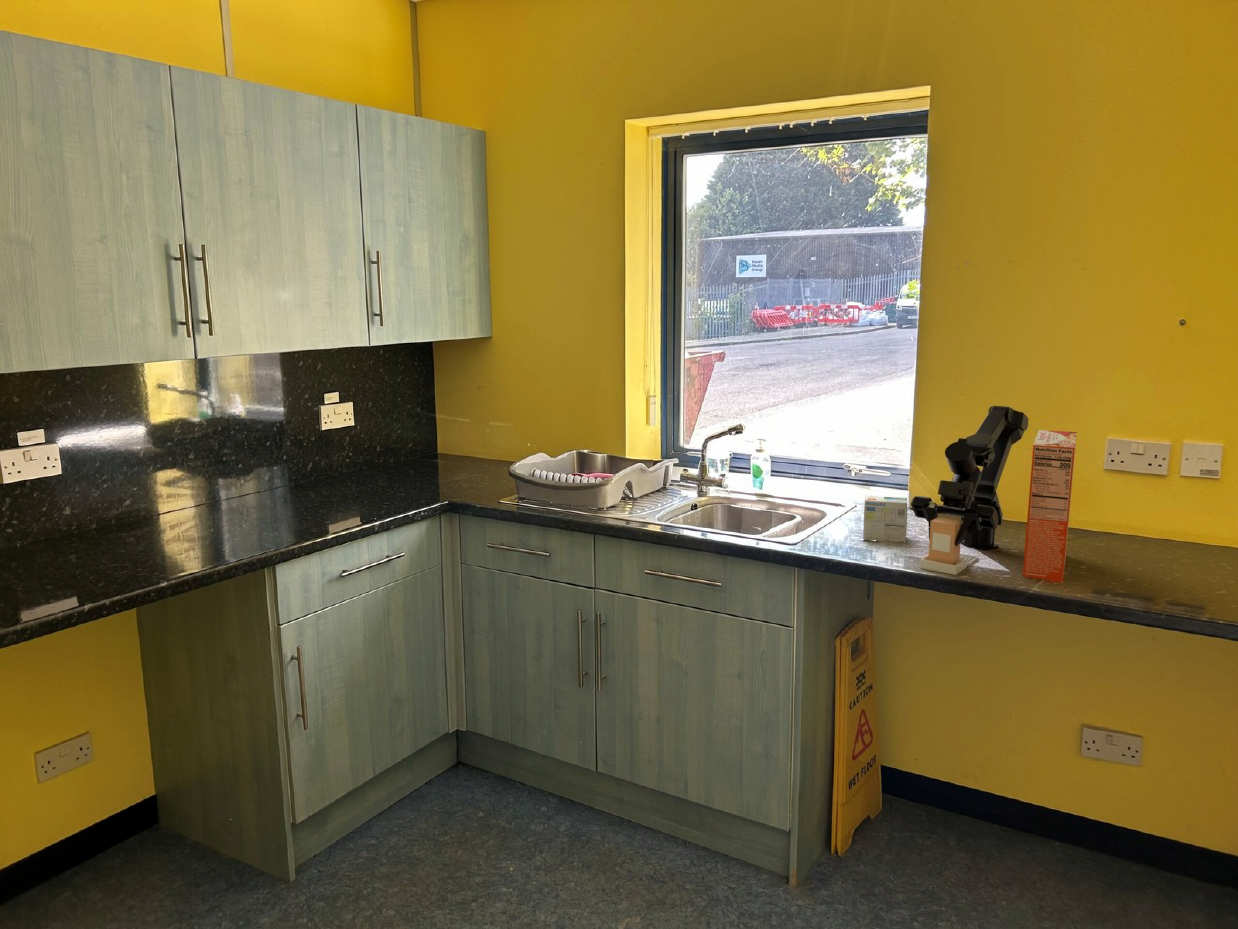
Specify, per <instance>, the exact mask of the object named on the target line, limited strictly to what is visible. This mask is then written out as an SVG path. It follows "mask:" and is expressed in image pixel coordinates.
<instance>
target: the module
mask: <svg viewBox="0 0 1238 929" xmlns="http://www.w3.org/2000/svg"><path fill="white" fill-rule="evenodd" d="M962 523H963V521H961V519H960V520H959V519H953V518H947V517H939V516H938V517H937V518H936V519H934V520H932V521H931V525H930V541H929V543H928V554H929V558H928V560H930V561H935V562H941V563H946V564H951V565H956V564H958V563H959V559H960V554H961V545H962V544H961V543H960V544H959V545H958V546H955V540H956V537H957V535H958V532H959V530H960V528H961V525H962Z"/></svg>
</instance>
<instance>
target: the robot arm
mask: <svg viewBox="0 0 1238 929" xmlns="http://www.w3.org/2000/svg"><path fill="white" fill-rule="evenodd" d="M1028 427H1029V417H1028V416H1027V415H1026V413H1024V412H1023V411H1018V410H1015V409H1014V408H1013V407H1010V406H1006V405H1005V406H1004V405H1003V406H1002V405H993V406H989V408H988V412H987V415H986V417H985V418H984V420H983V421H982V423H981V424H980V425H979V427H978V429H977V431H976V432H975V433H974V434H972V435H969V436H967V437H965V438H963V437H961V438H960V437H959V438H958V440H957V441H955V442H952V443H950V444H949V445H947V447H946V448H945V450H944V455H945V458H946V460H947V464H948V466H949V469H950V471H951V473H953V476H952V478H951V481H950V480H943V479H942V480H940V481H939V485H938V490H937V495H940V498H939V500H940V502H942V504H938V503H936V502H935V501H933V500H932V498H931V497H929V496H923V495H915V496H914V497H912V498H911V502H910V507H911V508H912V511H913V513H914V515H915V516H916V517H917V518H920V519H925V520H926V521H927V523H928V540H929V541H930V525H931V521H932V520H934V519H936V518H937V517H939V514H942V515H947V516H953V517H960V521H962V525H961V528H960V530H959V532H958V535H957V537H956V540H955V546H958V545H959V544H960V543H961V545H964V546H966V547H969V548H972V549H975V550H980V551H981V550H988V549H996V548H997V549H998V548H999V544H996V543H995V535H996V529H997V527H998V526H1002V524H1003V518H1004V517H1003V510H1002V507H1001V504H1000V500H999V497H998V494H997V489H998V487H999V486H998V485H999V483H1000V480H1001V477H1002V474H1003V473H1004V472H1003V471H1004V470H1005V466H1006V463H1007V460H1008V457H1009V455H1010V451H1011V449H1012V446H1013V445H1014V444H1016V443H1018V441H1021V440H1022V438H1023V436H1024V434H1025V431H1027V429H1028ZM979 467H981V469H980V468H979Z"/></svg>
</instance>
